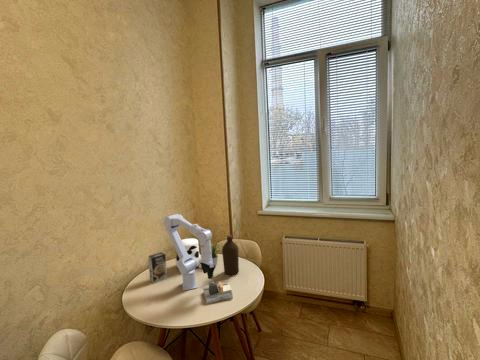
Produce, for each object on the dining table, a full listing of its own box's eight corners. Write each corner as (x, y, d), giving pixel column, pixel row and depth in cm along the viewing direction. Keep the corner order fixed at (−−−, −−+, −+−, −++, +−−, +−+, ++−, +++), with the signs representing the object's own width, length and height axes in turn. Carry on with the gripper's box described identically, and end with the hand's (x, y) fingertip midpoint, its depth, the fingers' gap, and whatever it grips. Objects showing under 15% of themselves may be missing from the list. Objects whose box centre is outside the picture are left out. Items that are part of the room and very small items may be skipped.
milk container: (196, 259, 191) (194, 236, 190) (205, 267, 176) (203, 242, 175) (173, 265, 182) (171, 241, 181) (180, 274, 168) (178, 248, 166)
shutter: (218, 287, 142) (218, 282, 142) (229, 285, 144) (228, 280, 144) (221, 292, 137) (220, 287, 136) (231, 290, 138) (231, 285, 138)
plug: (209, 295, 140) (208, 281, 139) (215, 293, 141) (214, 280, 140) (211, 298, 136) (210, 284, 136) (217, 296, 138) (216, 282, 137)
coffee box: (153, 283, 157) (151, 258, 156) (149, 280, 162) (147, 255, 160) (167, 278, 163) (165, 254, 162) (163, 275, 168) (161, 251, 166)
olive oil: (236, 277, 159) (233, 238, 157) (220, 275, 163) (218, 237, 161) (242, 270, 169) (239, 233, 167) (227, 268, 173) (225, 232, 171)
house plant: (229, 264, 179) (227, 241, 178) (214, 271, 169) (212, 247, 168) (216, 259, 189) (214, 238, 188) (201, 265, 180) (199, 243, 178)
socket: (203, 292, 143) (203, 287, 143) (227, 287, 147) (227, 282, 147) (206, 303, 132) (206, 298, 132) (232, 298, 136) (232, 293, 135)
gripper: (195, 249, 146) (196, 272, 147) (204, 257, 133) (205, 282, 134) (206, 247, 149) (208, 269, 150) (216, 254, 136) (218, 279, 137)
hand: (207, 275), depth 142 cm, fingers open, 7 cm apart
